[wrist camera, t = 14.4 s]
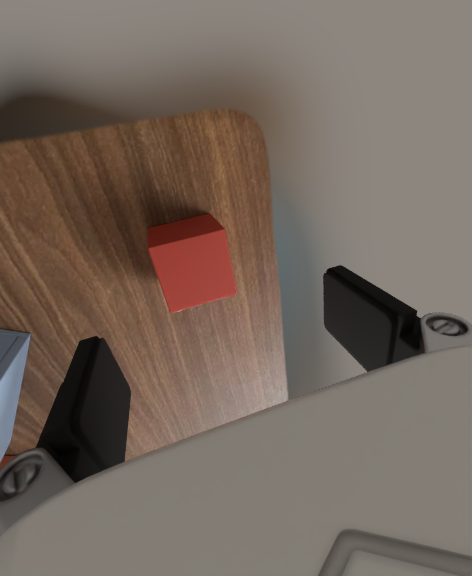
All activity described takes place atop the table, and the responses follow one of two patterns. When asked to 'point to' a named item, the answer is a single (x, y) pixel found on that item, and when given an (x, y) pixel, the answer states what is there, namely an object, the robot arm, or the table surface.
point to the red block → (192, 261)
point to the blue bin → (10, 380)
